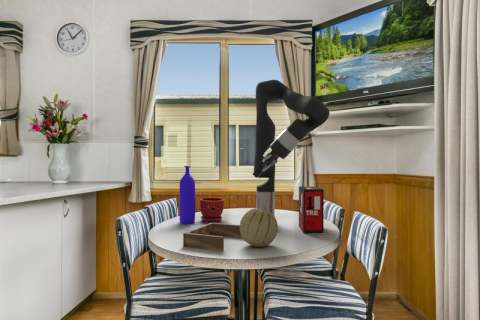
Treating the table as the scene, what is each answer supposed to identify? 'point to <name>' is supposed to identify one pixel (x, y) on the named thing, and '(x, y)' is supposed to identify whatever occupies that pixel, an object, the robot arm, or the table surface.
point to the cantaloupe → (258, 227)
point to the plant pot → (211, 209)
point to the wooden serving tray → (210, 236)
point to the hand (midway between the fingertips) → (254, 175)
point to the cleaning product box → (311, 210)
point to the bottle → (187, 198)
